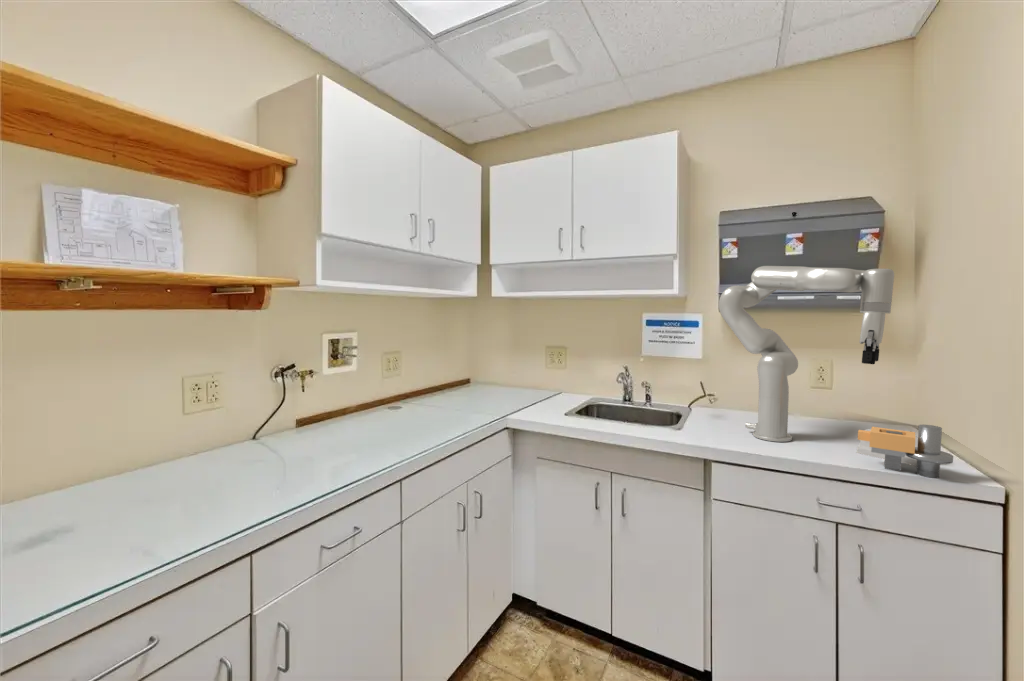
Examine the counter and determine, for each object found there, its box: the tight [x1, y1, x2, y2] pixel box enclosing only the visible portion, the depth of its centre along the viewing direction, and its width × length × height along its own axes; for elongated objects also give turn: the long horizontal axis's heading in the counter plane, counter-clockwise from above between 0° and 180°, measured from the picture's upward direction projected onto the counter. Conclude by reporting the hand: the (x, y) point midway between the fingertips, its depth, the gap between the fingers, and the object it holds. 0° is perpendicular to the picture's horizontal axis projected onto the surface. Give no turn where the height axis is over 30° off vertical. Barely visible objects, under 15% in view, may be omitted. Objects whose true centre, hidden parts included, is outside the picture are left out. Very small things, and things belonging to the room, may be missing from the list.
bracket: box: [857, 426, 916, 454], centre depth 133 cm, size 13×8×4 cm, turn 48°
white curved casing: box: [855, 428, 918, 467], centre depth 143 cm, size 17×5×10 cm, turn 35°
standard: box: [871, 424, 954, 479], centre depth 130 cm, size 18×10×14 cm, turn 48°
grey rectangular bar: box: [883, 431, 903, 472], centre depth 132 cm, size 4×2×11 cm, turn 52°
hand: (870, 362), depth 142 cm, fingers open, 9 cm apart
